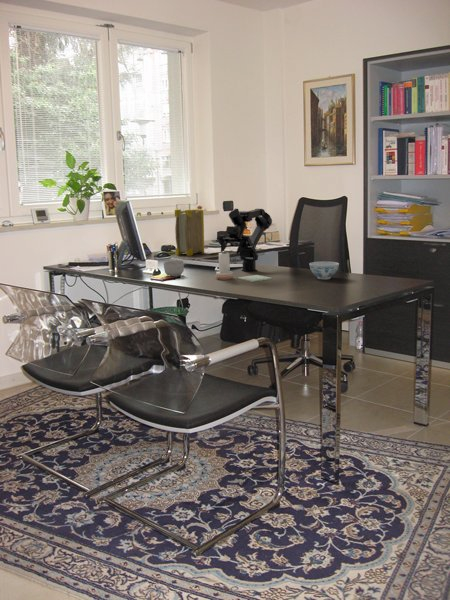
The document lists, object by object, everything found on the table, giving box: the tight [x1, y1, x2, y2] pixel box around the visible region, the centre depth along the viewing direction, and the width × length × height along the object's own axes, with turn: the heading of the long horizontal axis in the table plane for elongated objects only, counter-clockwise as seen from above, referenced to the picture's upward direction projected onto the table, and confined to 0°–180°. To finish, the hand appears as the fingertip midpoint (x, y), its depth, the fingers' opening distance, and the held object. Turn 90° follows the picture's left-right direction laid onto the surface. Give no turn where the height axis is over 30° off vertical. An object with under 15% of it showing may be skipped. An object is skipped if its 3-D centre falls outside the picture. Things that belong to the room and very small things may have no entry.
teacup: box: [163, 259, 185, 277], centre depth 374 cm, size 14×11×8 cm
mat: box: [237, 274, 273, 283], centre depth 358 cm, size 13×13×1 cm
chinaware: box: [309, 261, 340, 280], centre depth 354 cm, size 15×15×8 cm
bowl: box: [215, 273, 234, 281], centre depth 360 cm, size 9×9×2 cm
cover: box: [215, 250, 234, 275], centre depth 359 cm, size 9×9×12 cm
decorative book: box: [174, 208, 205, 257], centre depth 459 cm, size 20×11×30 cm, turn 145°
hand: (229, 253), depth 362 cm, fingers open, 9 cm apart
